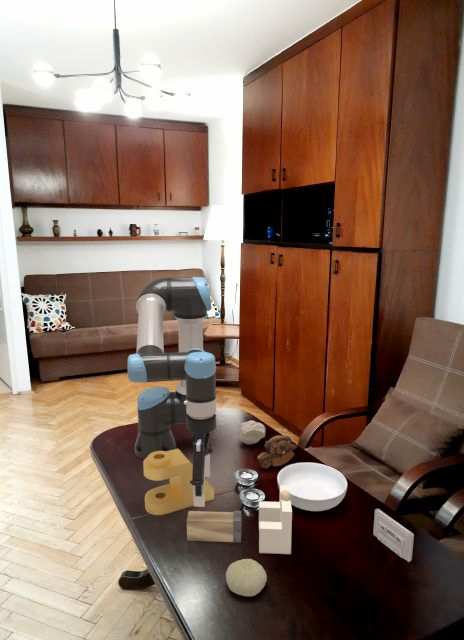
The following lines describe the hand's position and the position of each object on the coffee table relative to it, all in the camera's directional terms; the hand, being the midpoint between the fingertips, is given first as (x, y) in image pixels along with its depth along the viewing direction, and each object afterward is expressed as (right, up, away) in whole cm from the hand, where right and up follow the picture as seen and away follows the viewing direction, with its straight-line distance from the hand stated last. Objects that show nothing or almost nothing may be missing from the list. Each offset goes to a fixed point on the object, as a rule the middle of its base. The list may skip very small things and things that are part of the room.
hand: (202, 490), depth 117 cm
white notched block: (+19, -14, +2) cm, 23 cm away
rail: (+3, -13, +3) cm, 14 cm away
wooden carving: (+24, -6, +39) cm, 46 cm away
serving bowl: (+32, -10, +19) cm, 39 cm away
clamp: (-9, -10, +19) cm, 23 cm away
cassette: (+49, -15, -1) cm, 51 cm away
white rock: (+16, -3, +53) cm, 56 cm away
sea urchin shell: (+8, -17, -14) cm, 24 cm away
